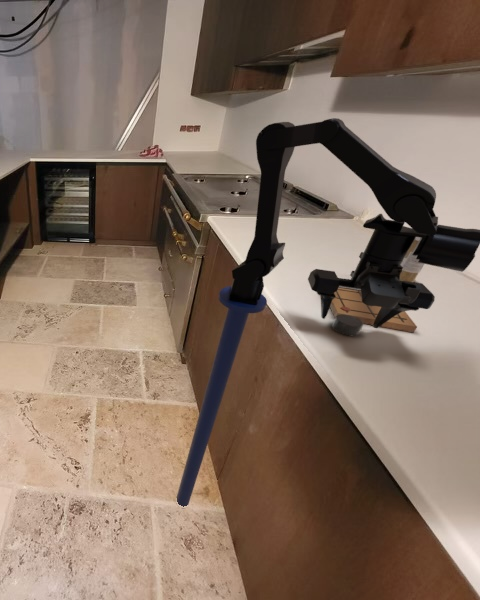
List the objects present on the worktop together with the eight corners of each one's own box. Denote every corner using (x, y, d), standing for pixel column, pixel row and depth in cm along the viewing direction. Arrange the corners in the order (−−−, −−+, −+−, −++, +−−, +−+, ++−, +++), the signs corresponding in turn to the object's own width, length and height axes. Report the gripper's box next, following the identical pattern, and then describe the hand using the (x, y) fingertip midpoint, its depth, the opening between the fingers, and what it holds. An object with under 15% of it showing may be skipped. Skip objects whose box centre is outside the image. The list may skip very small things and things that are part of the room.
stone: (334, 332, 68) (339, 323, 67) (329, 321, 72) (334, 312, 70) (361, 338, 66) (366, 328, 65) (354, 325, 70) (359, 316, 69)
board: (335, 318, 72) (338, 312, 72) (317, 280, 88) (320, 274, 87) (413, 332, 68) (418, 326, 67) (380, 289, 83) (384, 283, 83)
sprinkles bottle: (395, 275, 90) (421, 228, 83) (416, 281, 87) (445, 234, 80) (388, 279, 88) (414, 232, 81) (409, 286, 85) (438, 237, 78)
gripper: (334, 263, 57) (303, 333, 65) (475, 282, 50) (421, 357, 59) (321, 242, 66) (295, 306, 74) (440, 255, 59) (397, 324, 67)
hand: (348, 322), depth 68 cm, fingers open, 9 cm apart
